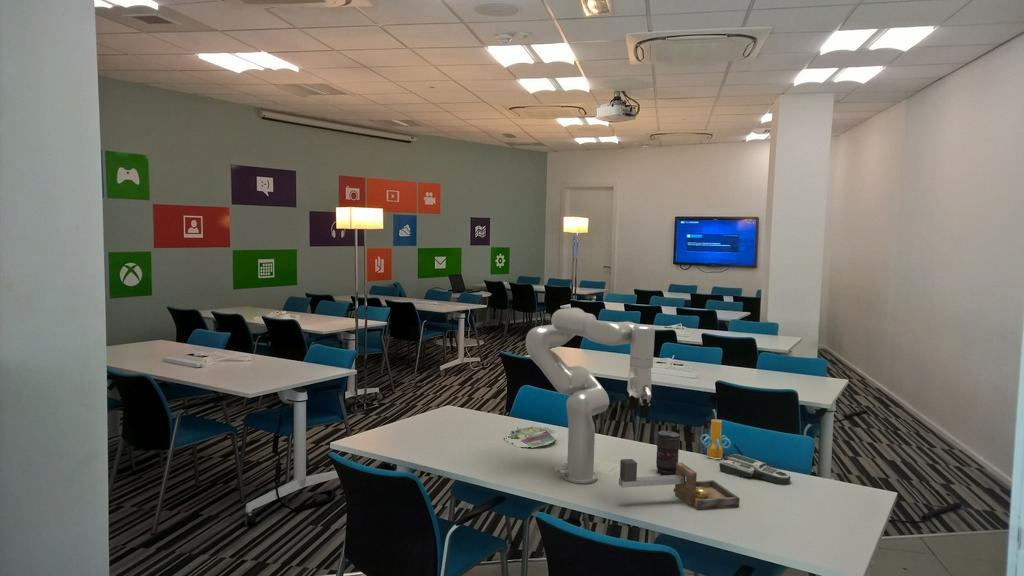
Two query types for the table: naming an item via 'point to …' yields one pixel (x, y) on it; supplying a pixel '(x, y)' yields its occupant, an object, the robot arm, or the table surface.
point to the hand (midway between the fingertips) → (638, 413)
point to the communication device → (752, 468)
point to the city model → (534, 436)
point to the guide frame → (716, 492)
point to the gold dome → (701, 492)
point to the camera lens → (667, 452)
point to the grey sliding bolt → (631, 480)
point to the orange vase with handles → (715, 440)
